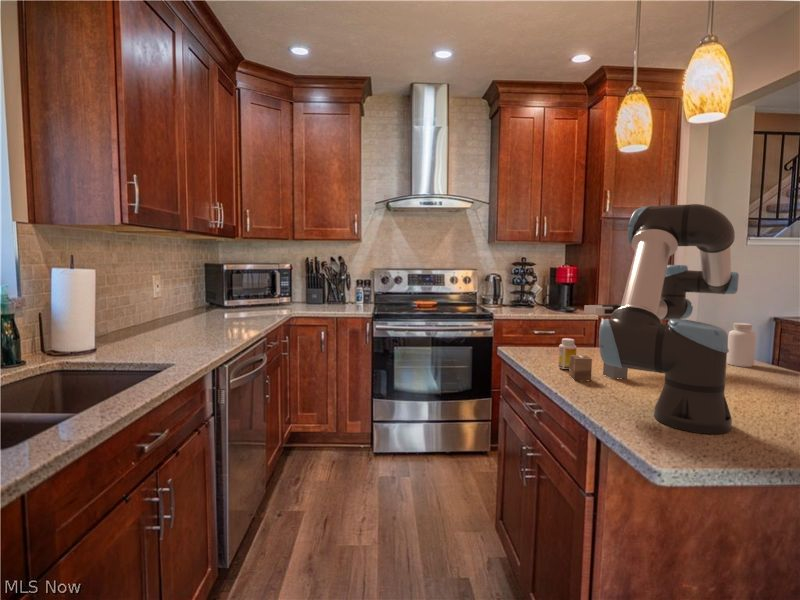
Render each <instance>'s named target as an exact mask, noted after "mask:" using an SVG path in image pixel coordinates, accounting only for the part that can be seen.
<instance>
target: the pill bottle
mask: <svg viewBox="0 0 800 600" xmlns="http://www.w3.org/2000/svg"><path fill="white" fill-rule="evenodd" d="M752 330H753V324H752V323H745V322H734V323H733V330H730V331H729V332H728V333H727V335H728V349H729V352H728V353H727V362H726V365H727V364H728V365H730V366H733V365H734V366H735V367H739V366H740V367H741V368H751V367H753V366H754V364H755V363H754V361H755V351H756V342H757V341H756V339H757V336H756V333H754V332H753V331H752Z"/></svg>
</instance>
